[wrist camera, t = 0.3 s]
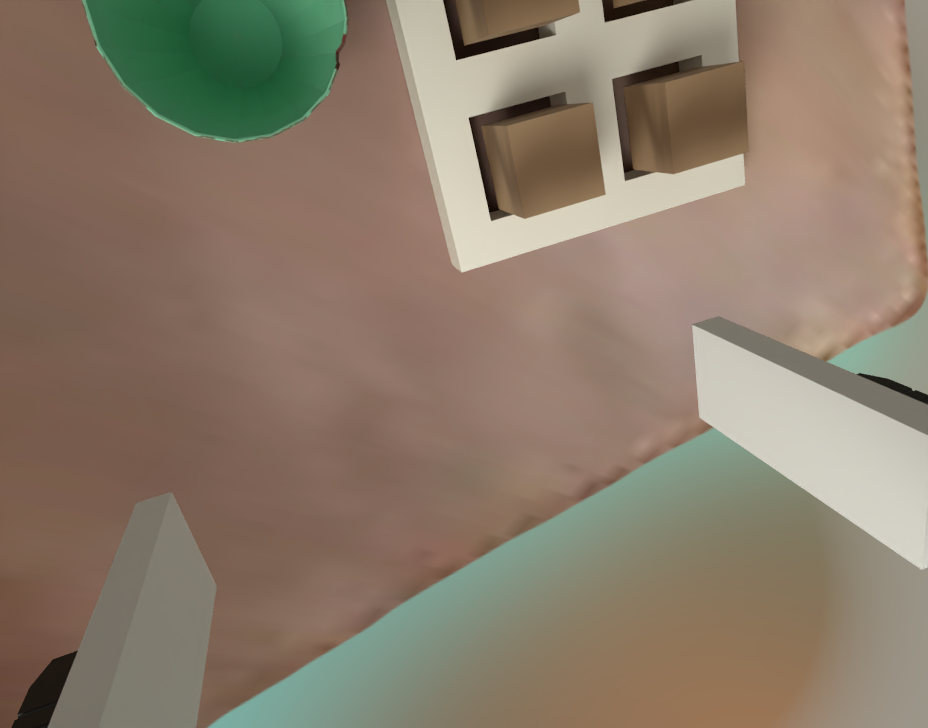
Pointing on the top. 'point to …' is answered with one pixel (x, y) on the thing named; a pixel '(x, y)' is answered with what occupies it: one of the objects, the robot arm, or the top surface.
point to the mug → (223, 60)
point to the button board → (565, 82)
